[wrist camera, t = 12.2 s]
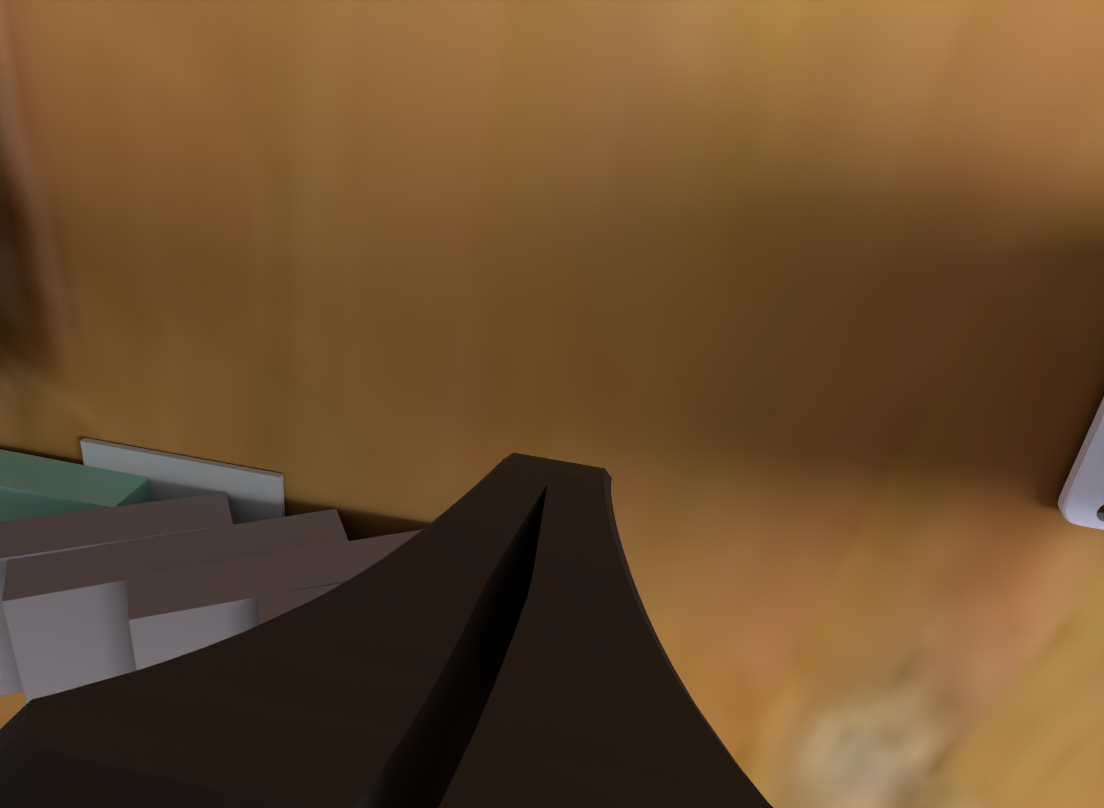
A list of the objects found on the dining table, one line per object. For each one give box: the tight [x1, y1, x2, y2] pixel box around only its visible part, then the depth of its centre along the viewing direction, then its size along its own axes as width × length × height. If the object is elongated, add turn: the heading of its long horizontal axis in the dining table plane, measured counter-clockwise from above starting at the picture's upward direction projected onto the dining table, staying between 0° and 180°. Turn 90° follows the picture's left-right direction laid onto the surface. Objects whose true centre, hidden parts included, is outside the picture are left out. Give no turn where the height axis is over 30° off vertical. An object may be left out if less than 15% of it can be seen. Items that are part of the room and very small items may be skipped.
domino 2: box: [0, 492, 233, 696], centre depth 23 cm, size 2×4×8 cm
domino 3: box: [2, 509, 348, 703], centre depth 23 cm, size 2×4×8 cm
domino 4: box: [128, 529, 423, 670], centre depth 23 cm, size 2×4×8 cm
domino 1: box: [0, 449, 151, 522], centre depth 26 cm, size 2×4×8 cm
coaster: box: [80, 438, 285, 525], centre depth 26 cm, size 6×6×1 cm
